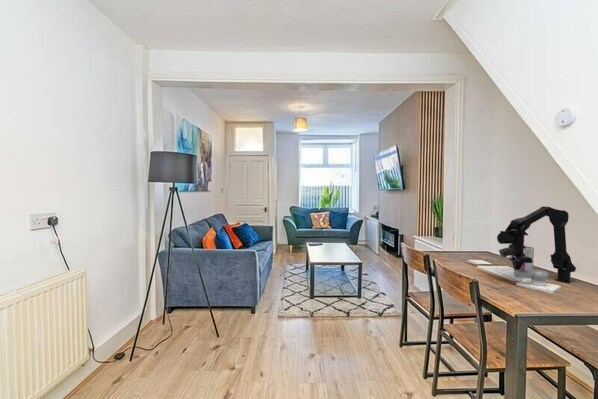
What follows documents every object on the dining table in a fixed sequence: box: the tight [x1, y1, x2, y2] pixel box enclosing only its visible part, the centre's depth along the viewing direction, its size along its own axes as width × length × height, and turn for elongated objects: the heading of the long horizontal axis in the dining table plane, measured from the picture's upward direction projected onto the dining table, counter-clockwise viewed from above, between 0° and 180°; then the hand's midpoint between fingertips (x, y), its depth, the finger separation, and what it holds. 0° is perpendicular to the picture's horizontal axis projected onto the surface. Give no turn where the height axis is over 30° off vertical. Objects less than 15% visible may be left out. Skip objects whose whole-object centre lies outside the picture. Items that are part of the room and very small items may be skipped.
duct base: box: [515, 278, 562, 294], centre depth 174 cm, size 13×16×4 cm
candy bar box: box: [519, 243, 535, 270], centre depth 202 cm, size 11×5×16 cm, turn 168°
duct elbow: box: [513, 268, 549, 282], centre depth 174 cm, size 15×8×4 cm, turn 83°
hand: (516, 272), depth 180 cm, fingers closed
